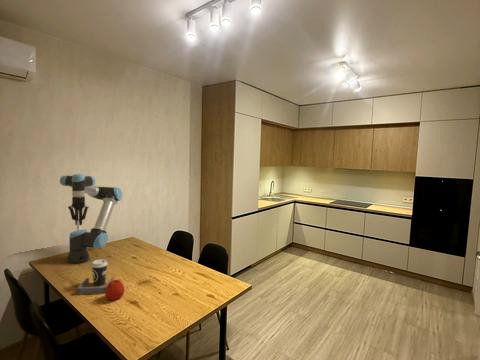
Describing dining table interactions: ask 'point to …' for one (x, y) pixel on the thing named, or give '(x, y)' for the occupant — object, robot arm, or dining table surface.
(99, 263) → the coffee cup
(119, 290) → the apple
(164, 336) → the dining table surface
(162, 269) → the dining table surface
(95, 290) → the bay
